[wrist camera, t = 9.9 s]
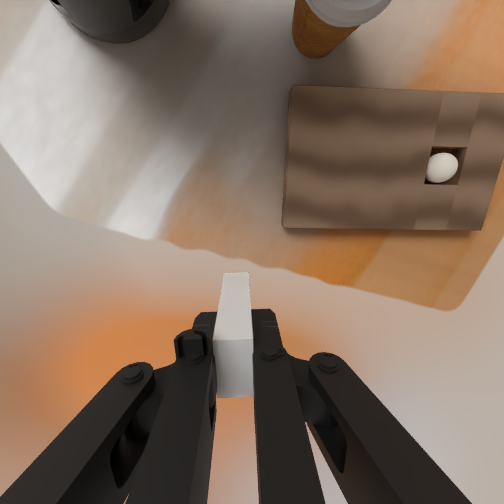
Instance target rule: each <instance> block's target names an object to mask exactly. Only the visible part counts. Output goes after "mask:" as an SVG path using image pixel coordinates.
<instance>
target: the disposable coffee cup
mask: <svg viewBox="0 0 504 504" xmlns="http://www.w3.org/2000/svg"><path fill="white" fill-rule="evenodd" d="M391 1H392V0H296V1H295V8H294V16H293V23H292V36H293V40H294V43H295V45H296V47H297V48H298V49H299V51H300V52H301V53H302V54H304V55H305V56H307V57H310V58H320V57H323V56H325V55H327V54H328V53H330V52H331V51H332V50H333V49H334V48H335V47H336V46H338V45H339V44H340V43H341V42H342V41H343V40H344V39H346V38H347V37H348V36H349V35H350V34H351V33H352V32H353V31H354V30H356V29H357V28H358V27H359V26H360V25H361V24H364V23H366V22H368V21H370V20H371V19H373V18H375V17H376V16H377V15H379V14H380V13H381V12H382V11H383V10H384V9H385V8H386V7H387V6H388V5H389V3H390V2H391Z"/></svg>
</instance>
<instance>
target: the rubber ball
mask: <svg viewBox="0 0 504 504" xmlns="http://www.w3.org/2000/svg"><path fill="white" fill-rule="evenodd" d="M457 168H458V162H457V159H456V158H455V157H454V156H453V155H451V154H449V153H438V154H435V155H433V156H431V157H430V158H429V163H428V167H427V172H426V177H425V178H426V179H427V180H428V181H430V182H434V183H440V182H444V181H446V180H448V179H450V178H451V177H452V176H453V175H454V174H455V173H456V171H457Z"/></svg>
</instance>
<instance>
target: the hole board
mask: <svg viewBox="0 0 504 504" xmlns="http://www.w3.org/2000/svg"><path fill="white" fill-rule="evenodd" d="M432 148H433V149H453V150H452V154H451V155H453V156H454V157H455V158H456V159H457V162H458V168H457V171H456V173H455V174H454V175H453V176H452V177H451V178H450V179H448V180H446V181H445V183H444V185H442V184H424V181H425V177H426V172H427V167H428V163H429V158H430V154H431V149H432ZM503 157H504V93H479V92H454V91H429V90H404V89H379V88H354V87H329V86H304V85H293V86H292V88H291V89H290V91H289V104H288V121H287V138H286V155H285V172H284V189H283V206H282V226H283V227H284V228H343V229H413V230H482V226H483V223H484V220H485V216H486V213H487V210H488V206H489V203H490V200H491V197H492V193H493V190H494V187H495V183H496V180H497V177H498V173H499V170H500V167H501V163H502V160H503Z"/></svg>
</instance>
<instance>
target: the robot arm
mask: <svg viewBox="0 0 504 504" xmlns="http://www.w3.org/2000/svg"><path fill="white" fill-rule="evenodd" d="M50 2H51V3H52V4H53V5H54V6H55V8H56V9H57V10H58V11H59V12H60V13H62V14H63V15H64V16H65V17H66V18H67V19H68V20H69V21H70V22H71V23H73V24H74V25H75V26H76V27H77V28H79V29H80V30H81V31H83V32H84V33H86V34H88V35H90V36H91V37H94V38H96V39H99V40H101V41H105V42H110V43H126V42H130V41H134V40H137V39H139V38H141V37H143V36H144V35H146V34H147V33H149V32H150V31H151V30H152V29H153V28H154V27H155V26H156V25H157V24H158V22H159V21H160V19H161V18H162V16H163V15H164V13H165V11H166V8H167V6H168V3H169V0H50ZM174 346H175V353H176V361H175V363H173V364H171V365H168V366H166V367H163V368H159V369H156V370H153V367H152V366H151V365H150V364H149V363H146V362H137V363H133V364H129V365H128V366H126V367H124V368H122V369H121V370H120V371H118V372H117V373H116V374H115V375H114V376H113V377H112V378H111V379H110V380H109V381H108V383H107V384H106V385H105V386H104V387H103V388H102V389H101V390H100V391H99V392H98V393H97V394H96V395H95V396H94V397H93V399H92V400H91V401H90V402H89V403H88V404H87V405H86V406H85V407H84V408H83V409H82V410H81V412H80V413H79V414H78V415H77V416H76V417H75V418H74V419H73V420H72V421H71V422H70V423H69V424H68V425H67V426H66V427H65V428H64V430H63V431H62V432H61V433H60V434H59V435H58V436H57V437H56V438H55V439H54V440H53V441H52V442H51V443H50V444H49V446H48V447H47V448H46V449H45V450H44V451H43V452H42V453H41V454H40V455H39V456H38V457H37V458H36V460H34V461H33V463H32V464H31V465H30V466H29V467H28V468H27V469H26V470H25V471H24V472H23V473H22V474H21V475H20V477H19V478H18V479H17V480H16V481H15V482H14V483H13V484H12V485H11V486H10V487H9V488H8V489H7V490H6V491H5V492H4V494H3V495H2V496H1V497H0V504H123V503H124V501H125V500H126V498H127V496H128V494H129V496H128V499H127V501H126V504H207V498H208V489H209V479H210V469H211V459H212V449H213V440H214V430H215V421H216V393H217V398H227V397H244V396H254V416H255V417H254V418H255V434H256V451H257V452H256V454H257V471H258V472H257V473H258V493H259V504H325V500H324V496H323V492H322V488H321V484H320V480H319V476H318V472H317V468H316V465H315V461H314V456H313V452H312V449H311V444H310V441H309V436H308V432H307V429H306V425H305V422H307V425H308V427H309V429H310V431H311V433H312V435H313V437H314V439H315V441H316V443H317V444H318V446H319V448H320V450H321V452H322V454H323V456H324V458H325V460H326V462H327V464H328V466H329V468H330V470H331V472H332V474H333V476H334V477H335V479H336V481H337V483H338V485H339V487H340V489H341V491H342V493H343V495H344V497H345V499H346V501H347V502H348V504H472V503H471V502H470V501H469V500H468V499H467V498H466V497H465V495H464V494H463V493H462V492H461V491H460V490H459V489H458V487H457V486H456V485H455V484H454V483H453V482H452V481H451V480H450V479H449V477H448V476H447V475H446V474H445V473H444V472H443V471H442V470H441V468H440V467H439V466H438V465H437V464H436V463H435V462H434V461H433V460H432V459H431V457H430V456H429V455H428V454H427V453H426V452H425V451H424V450H423V448H421V446H420V445H419V444H418V443H417V442H416V441H415V439H414V438H413V437H412V436H411V435H410V434H409V433H408V432H407V431H406V430H405V428H404V427H403V426H402V425H401V424H400V423H399V422H398V421H397V419H396V418H395V417H394V416H393V415H392V414H391V413H390V412H389V410H388V409H387V408H386V407H385V406H384V405H383V404H382V403H381V401H380V400H379V399H378V398H377V397H376V396H375V395H374V394H373V393H372V392H371V391H370V389H369V388H368V387H367V386H366V385H365V384H364V383H363V382H362V380H361V379H360V378H359V377H358V376H357V375H356V374H355V373H354V371H353V370H352V369H351V368H350V367H349V366H348V365H347V363H346V362H344V360H342V359H341V358H340V357H338V356H336V355H334V354H332V353H326V352H322V353H317V354H314V355H313V356H312V357H311V358H310V360H309V361H307V360H301V359H298V358H295V357H293V356H290V355H289V354H288V353H287V351H286V350H285V348H283V345H282V341H281V337H280V332H279V329H278V324H277V320H276V316H275V313H274V312H273V311H272V310H271V309H251V302H250V288H249V274H248V272H237V273H224V278H223V284H222V289H221V295H220V301H219V307H218V312H201V313H200V314H199V315H198V316H197V317H196V318H195V320H194V324H193V327H192V329H189V330H186V331H183V332H181V333H180V334H179V335H177V336H176V338H175V339H174Z"/></svg>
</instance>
